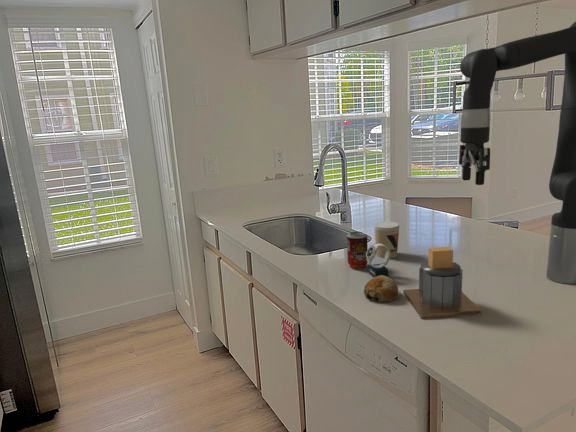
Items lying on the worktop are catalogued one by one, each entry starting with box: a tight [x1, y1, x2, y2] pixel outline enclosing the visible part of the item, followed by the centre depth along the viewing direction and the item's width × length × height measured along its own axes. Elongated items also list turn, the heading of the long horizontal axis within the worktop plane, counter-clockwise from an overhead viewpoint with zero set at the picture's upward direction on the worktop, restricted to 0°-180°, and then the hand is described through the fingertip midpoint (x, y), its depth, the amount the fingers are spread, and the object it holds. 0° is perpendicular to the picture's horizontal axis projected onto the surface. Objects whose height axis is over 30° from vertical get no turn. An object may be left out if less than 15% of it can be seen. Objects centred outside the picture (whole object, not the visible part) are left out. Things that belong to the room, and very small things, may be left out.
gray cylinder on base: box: [402, 266, 482, 320], centre depth 119 cm, size 16×16×10 cm
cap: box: [420, 246, 462, 277], centre depth 117 cm, size 10×10×8 cm
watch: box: [366, 243, 391, 278], centre depth 141 cm, size 6×8×11 cm
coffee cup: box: [373, 221, 400, 259], centre depth 161 cm, size 9×9×12 cm
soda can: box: [346, 231, 368, 270], centre depth 151 cm, size 7×7×12 cm
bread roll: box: [363, 275, 399, 303], centre depth 127 cm, size 10×10×8 cm
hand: (472, 182), depth 124 cm, fingers open, 8 cm apart
